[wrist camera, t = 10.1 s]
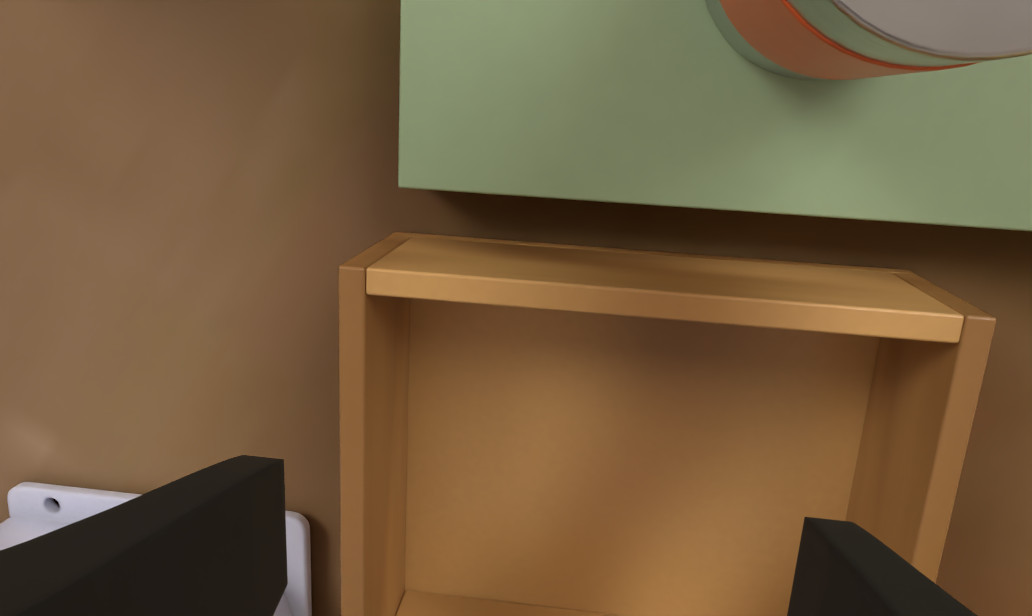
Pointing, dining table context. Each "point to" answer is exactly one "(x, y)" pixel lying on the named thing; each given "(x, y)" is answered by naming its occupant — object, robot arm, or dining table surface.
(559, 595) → the wooden box
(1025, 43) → the can
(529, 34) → the stand
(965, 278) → the dining table surface
